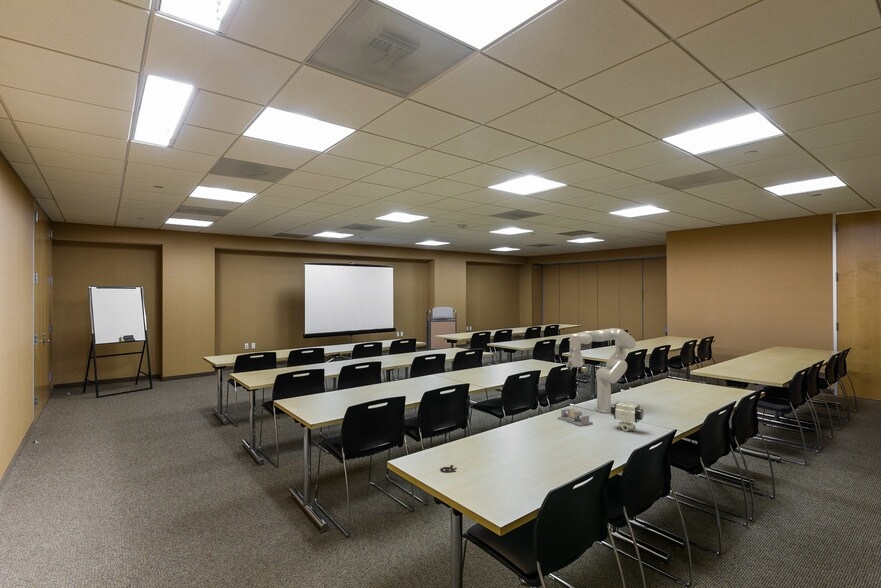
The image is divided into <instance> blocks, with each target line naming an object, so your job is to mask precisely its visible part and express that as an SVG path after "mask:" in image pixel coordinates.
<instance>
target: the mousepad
mask: <svg viewBox="0 0 881 588" xmlns="http://www.w3.org/2000/svg"><path fill="white" fill-rule="evenodd" d="M439 470H440V472H441V473H446V474H449V473H456V472H457V467H454V466H453V464H450V466H444V467H441V468H440V469H439Z"/></svg>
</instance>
